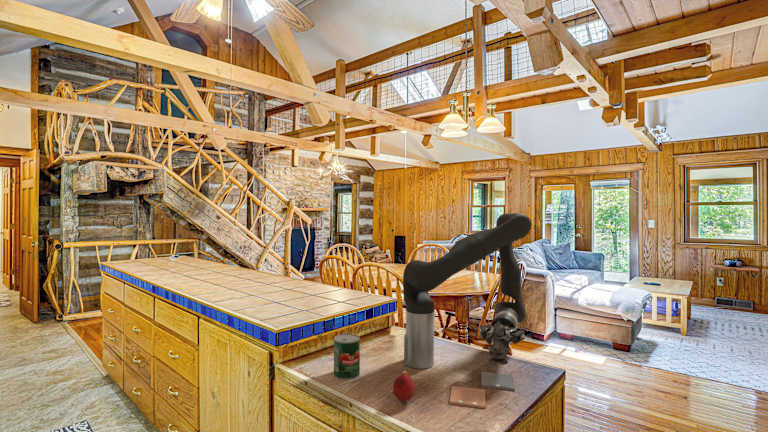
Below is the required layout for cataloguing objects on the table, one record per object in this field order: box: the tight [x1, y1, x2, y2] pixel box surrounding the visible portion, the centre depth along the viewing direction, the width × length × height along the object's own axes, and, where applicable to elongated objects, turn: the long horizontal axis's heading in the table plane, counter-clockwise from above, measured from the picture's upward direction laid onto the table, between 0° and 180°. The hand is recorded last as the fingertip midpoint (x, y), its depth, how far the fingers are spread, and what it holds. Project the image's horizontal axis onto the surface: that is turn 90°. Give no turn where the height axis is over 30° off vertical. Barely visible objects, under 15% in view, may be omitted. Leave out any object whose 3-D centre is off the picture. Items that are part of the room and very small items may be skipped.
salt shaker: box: [487, 321, 510, 366], centre depth 111 cm, size 6×6×12 cm
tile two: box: [448, 385, 487, 409], centre depth 102 cm, size 9×9×1 cm
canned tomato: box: [333, 333, 361, 381], centre depth 115 cm, size 8×8×11 cm
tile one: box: [480, 371, 516, 392], centre depth 111 cm, size 9×9×1 cm
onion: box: [392, 370, 416, 403], centre depth 99 cm, size 6×6×8 cm
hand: (497, 342), depth 109 cm, fingers closed on salt shaker, 3 cm apart
